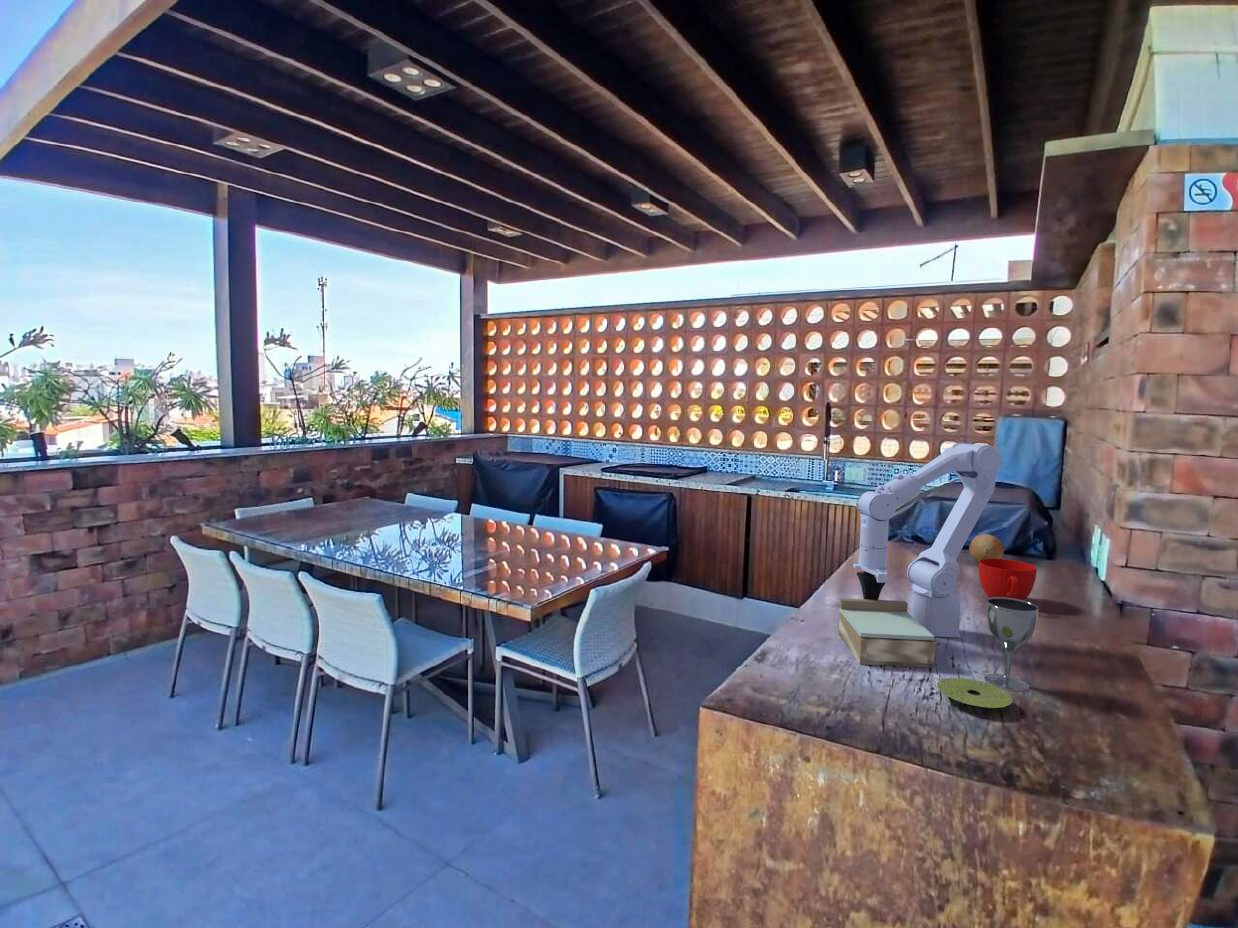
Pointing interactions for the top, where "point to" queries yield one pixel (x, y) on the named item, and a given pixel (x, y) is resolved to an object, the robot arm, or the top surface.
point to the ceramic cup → (1006, 578)
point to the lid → (882, 619)
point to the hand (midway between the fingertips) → (870, 605)
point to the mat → (974, 692)
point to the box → (887, 649)
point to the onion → (986, 547)
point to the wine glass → (1010, 634)
